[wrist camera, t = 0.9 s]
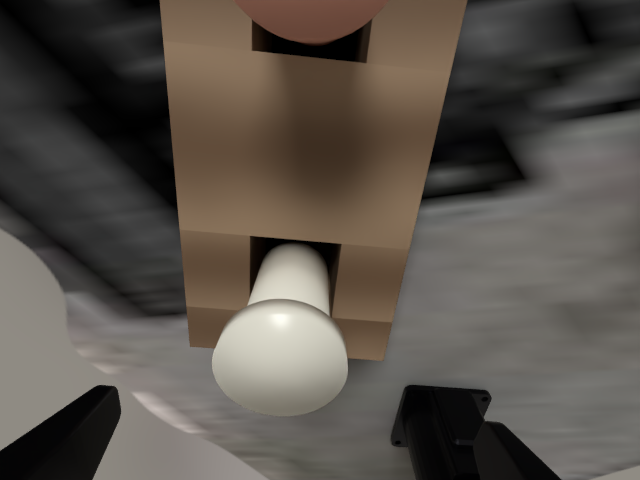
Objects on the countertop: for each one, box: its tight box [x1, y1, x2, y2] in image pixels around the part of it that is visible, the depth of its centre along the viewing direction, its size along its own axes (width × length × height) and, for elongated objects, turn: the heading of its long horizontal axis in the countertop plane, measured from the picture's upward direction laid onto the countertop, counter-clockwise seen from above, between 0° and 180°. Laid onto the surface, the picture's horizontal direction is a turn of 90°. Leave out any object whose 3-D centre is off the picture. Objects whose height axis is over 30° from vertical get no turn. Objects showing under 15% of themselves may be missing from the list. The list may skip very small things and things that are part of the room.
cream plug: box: [212, 242, 348, 417], centre depth 13 cm, size 4×4×6 cm
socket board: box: [160, 0, 467, 361], centre depth 15 cm, size 20×10×5 cm, turn 174°
